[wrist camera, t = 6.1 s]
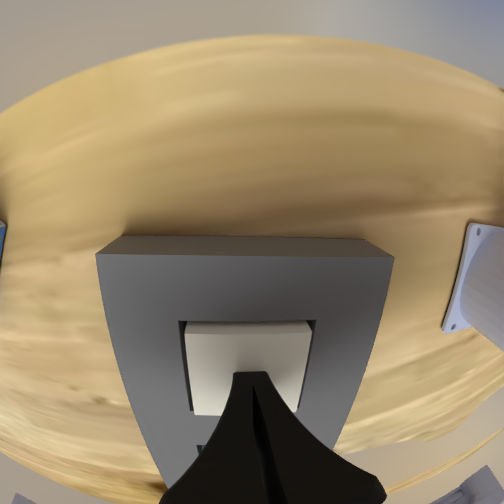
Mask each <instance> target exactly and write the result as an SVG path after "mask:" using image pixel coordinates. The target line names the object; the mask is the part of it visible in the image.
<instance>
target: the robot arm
mask: <svg viewBox="0 0 504 504" xmlns="http://www.w3.org/2000/svg"><path fill="white" fill-rule="evenodd" d="M470 327H474V328H475V329H476V330H478V331H479V332H480V333H481V334H483V335H484V336H485V337H486V338H487V339H489V340H490V341H491V342H492V343H494V344H495V345H496V346H497V347H498V348H499V349H501V350H502V351H503V352H504V227H498V226H492V225H486V224H479V223H470V224H469V225H468V228H467V232H466V238H465V244H464V249H463V254H462V258H461V263H460V267H459V271H458V276H457V279H456V283H455V287H454V291H453V294H452V298H451V301H450V304H449V307H448V311H447V314H446V317H445V320H444V323H443V325H442V331H443V332H444V333H446V334H447V333H451V332H455V331H459V330H463V329H467V328H470ZM386 497H387V495H386V493H385V490H384V488H383V486H382V485H381V483H380V482H379V480H378V479H377V477H376V476H374V475H372V474H370V473H368V472H366V471H364V470H362V469H360V468H358V467H356V466H355V465H353V464H351V463H350V462H347V461H346V460H345V459H343V458H342V457H340V456H339V455H337V454H336V453H335V452H333V451H332V450H331V449H329V448H328V447H327V446H325V445H324V444H323V443H322V442H321V441H319V440H318V439H317V438H316V437H315V436H314V435H313V434H312V433H311V432H310V431H309V430H308V429H307V428H306V427H305V426H304V425H303V424H302V423H301V422H300V421H299V419H298V418H297V417H296V416H295V415H294V414H293V412H292V411H291V410H290V408H289V407H288V406H287V404H286V403H285V402H284V400H283V399H282V397H281V396H280V394H279V393H278V391H277V389H276V388H275V386H274V384H273V383H272V381H271V379H270V377H269V375H268V373H267V372H266V371H252V372H235V373H233V380H232V386H231V390H230V394H229V397H228V400H227V403H226V405H225V408H224V411H223V413H222V415H221V417H220V420H219V422H218V424H217V426H216V428H215V430H214V432H213V433H212V435H211V437H210V439H209V440H208V442H207V444H206V445H205V447H204V448H203V450H202V451H201V453H200V454H199V455H198V457H197V458H196V460H195V461H194V462H193V463H192V465H191V466H190V467H189V468H188V469H187V471H186V472H185V473H184V474H183V475H182V476H181V477H180V478H179V480H177V481H176V482H175V483H174V484H173V485H172V486H171V487H170V488H169V489H168V490H167V491H166V492H165V493H164V494H163V496H162V498H161V500H160V502H159V504H382V503H383V502H384V501H385V499H386ZM503 501H504V490H503V488H502V487H501V485H500V483H499V482H498V480H497V479H496V477H495V476H494V474H493V473H492V471H491V470H490V468H489V467H488V465H485V466H484V467H483V468H481V469H480V470H479V471H477V472H476V473H474V474H473V475H472V476H470V477H469V478H468V479H466V480H465V481H464V482H463V483H462V484H461V485H460V486H459V487H458V488H456V489H455V490H453V491H451V492H449V493H448V494H446V495H444V496H443V497H441V498H439V499H437V500H435V501H434V502H432V503H430V504H501V503H502V502H503ZM12 504H36V503H35V502H33V501H31V500H29V499H27V498H25V497H24V496H22V495H20V494H18V493H16V494H15V496H14V499H13V502H12Z"/></svg>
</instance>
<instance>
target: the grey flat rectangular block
mask: <svg viewBox="0 0 504 504" xmlns="http://www.w3.org/2000/svg"><path fill="white" fill-rule="evenodd" d="M95 255H96V263H97V270H98V277H99V283H100V289H101V295H102V300H103V305H104V310H105V315H106V320H107V324H108V329H109V333H110V337H111V341H112V345H113V349H114V353H115V356H116V360H117V364H118V367H119V370H120V374H121V377H122V380H123V383H124V386H125V390H126V393H127V395H128V398H129V401H130V404H131V407H132V410H133V412H134V415H135V418H136V420H137V423H138V425H139V428H140V430H141V433H142V435H143V437H144V440H145V442H146V444H147V447H148V449H149V451H150V453H151V455H152V458H153V460H154V462H155V464H156V466H157V468H158V470H159V472H160V474H161V476H162V478H163V480H164V482H165V484H166V486H167V487H168V489H169V488H170V487H171V486H172V485H173V484H174V483H175V482H176V481H177V480H179V478H180V477H181V476H182V475H183V474H184V473H185V472H186V471H187V469H188V468H189V467H190V466H191V465H192V463H193V462H194V461H195V460H196V458H197V457H198V455H199V454H200V453H201V451H202V445H206V444H207V442H208V440H209V439H210V437H211V435H212V433H213V432H214V430H215V428H216V426H217V424H218V422H219V420H220V417H221V416H211V415H195V414H194V407H193V401H192V394H191V386H190V379H189V371H188V363H187V354H186V344H185V334H184V333H185V329H186V325H187V321H227V322H245V321H292V320H306V321H307V323H308V325H309V327H310V329H311V331H312V335H311V341H310V347H309V352H308V357H307V363H306V368H305V373H304V378H303V383H302V388H301V392H300V397H299V401H298V406H297V410H296V412H293V414H294V415H295V416H296V417H297V418H298V419H299V421H300V422H301V423H302V424H303V425H304V426H305V427H306V428H307V429H308V430H309V431H310V432H311V433H312V434H313V435H314V436H315V437H316V438H317V439H318V440H319V441H321V442H322V443H323V444H324V445H325V446H327V447H328V448H329V449H331V450H333V448H334V446H335V444H336V442H337V439H338V437H339V435H340V433H341V431H342V428H343V426H344V424H345V422H346V419H347V417H348V414H349V412H350V410H351V407H352V405H353V402H354V400H355V397H356V394H357V392H358V389H359V386H360V384H361V381H362V378H363V375H364V372H365V370H366V367H367V364H368V361H369V357H370V354H371V351H372V348H373V345H374V341H375V338H376V334H377V331H378V327H379V324H380V320H381V316H382V312H383V308H384V304H385V300H386V296H387V291H388V287H389V282H390V278H391V273H392V268H393V262H394V257H393V256H391V255H390V254H388V253H386V252H385V251H383V250H381V249H380V248H378V247H376V246H374V245H373V244H371V243H369V242H368V241H366V240H364V239H339V238H303V237H258V236H179V235H121V236H120V237H118V238H117V239H116V240H114V241H113V242H111V243H110V244H108V245H107V246H106V247H104V248H103V249H101V250H100V251H99V252H97V253H96V254H95Z"/></svg>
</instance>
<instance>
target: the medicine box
mask: <svg viewBox="0 0 504 504" xmlns="http://www.w3.org/2000/svg"><path fill="white" fill-rule="evenodd" d="M5 230H6V225H5V224H4V223H3V222H2V221H1V220H0V259H1V252H2V246H3V240H4V236H5Z"/></svg>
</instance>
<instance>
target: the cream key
mask: <svg viewBox="0 0 504 504" xmlns="http://www.w3.org/2000/svg"><path fill="white" fill-rule="evenodd" d="M184 334H185V344H186V354H187V363H188V371H189V379H190V386H191V394H192V401H193V407H194V414H195V415H211V416H221V415H222V413H223V411H224V408H225V405H226V403H227V400H228V397H229V394H230V390H231V386H232V380H233V373H235V372H252V371H266V372H267V373H268V375H269V377H270V379H271V381H272V383H273V384H274V386H275V388H276V389H277V391H278V393H279V394H280V396H281V397H282V399H283V400H284V402H285V403H286V404H287V406H288V407H289V408H290V410H291V411H292V412H296V410H297V406H298V401H299V397H300V392H301V388H302V383H303V378H304V373H305V368H306V363H307V357H308V352H309V347H310V341H311V335H312V331H311V329H310V327H309V325H308V323H307V321H306V320H292V321H245V322H227V321H187V325H186V329H185V333H184Z"/></svg>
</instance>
